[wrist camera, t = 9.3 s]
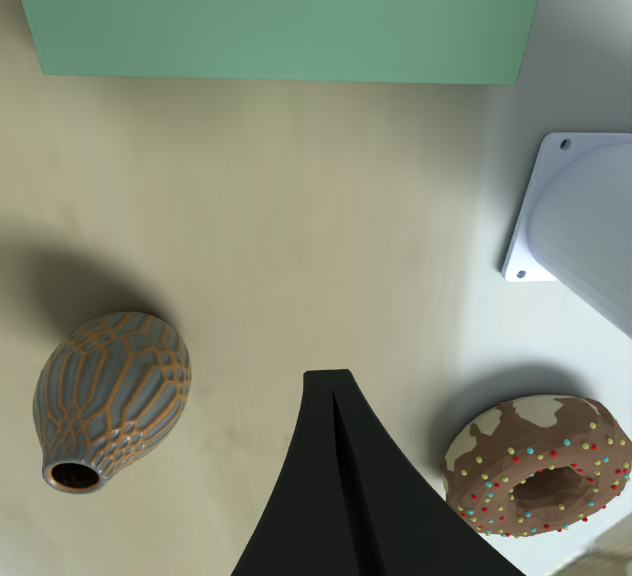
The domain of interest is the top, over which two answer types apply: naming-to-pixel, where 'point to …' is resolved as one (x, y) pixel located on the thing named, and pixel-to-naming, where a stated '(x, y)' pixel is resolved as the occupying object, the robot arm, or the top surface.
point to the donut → (536, 465)
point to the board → (285, 39)
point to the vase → (108, 398)
